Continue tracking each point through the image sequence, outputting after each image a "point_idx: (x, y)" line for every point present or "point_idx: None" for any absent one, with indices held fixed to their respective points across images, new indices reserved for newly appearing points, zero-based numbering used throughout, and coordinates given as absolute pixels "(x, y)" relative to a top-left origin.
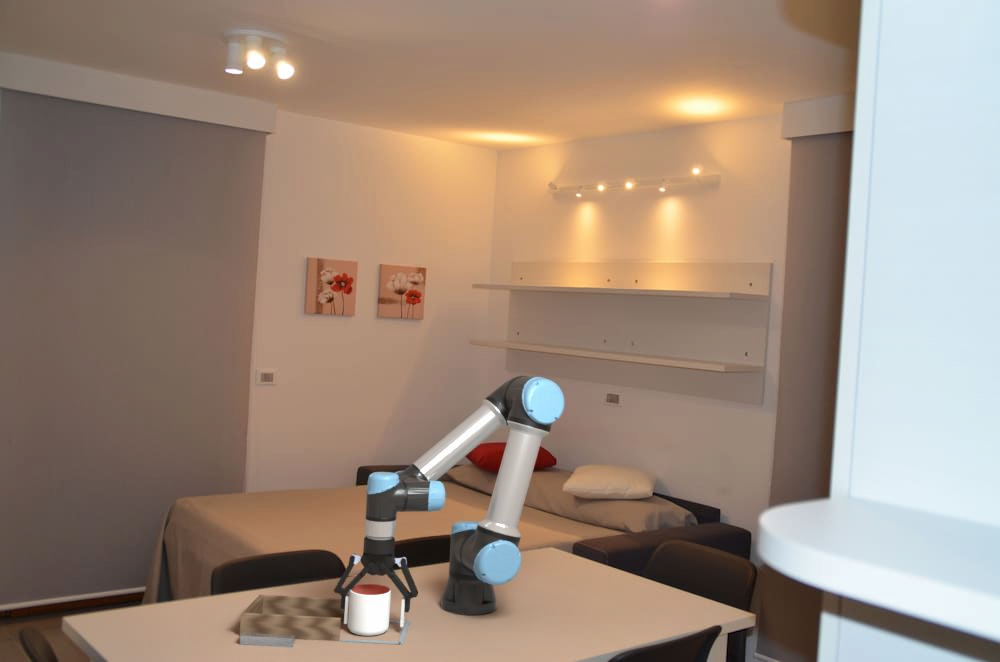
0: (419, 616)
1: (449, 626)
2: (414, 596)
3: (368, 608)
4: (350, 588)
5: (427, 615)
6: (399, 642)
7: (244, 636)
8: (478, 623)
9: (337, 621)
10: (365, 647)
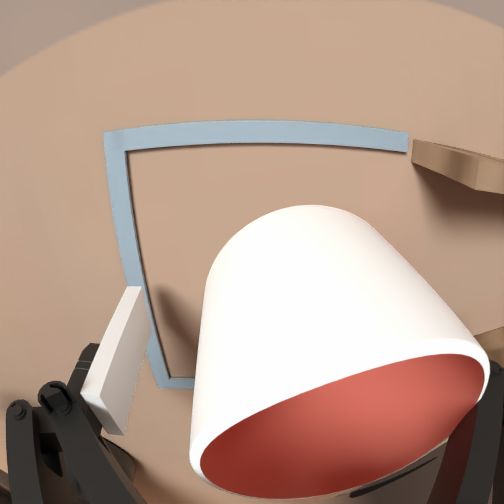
0: (149, 417)
1: (39, 356)
2: (23, 405)
3: (347, 271)
4: (483, 406)
5: (131, 422)
6: (119, 143)
7: None
8: (4, 373)
9: (479, 158)
10: (284, 56)
